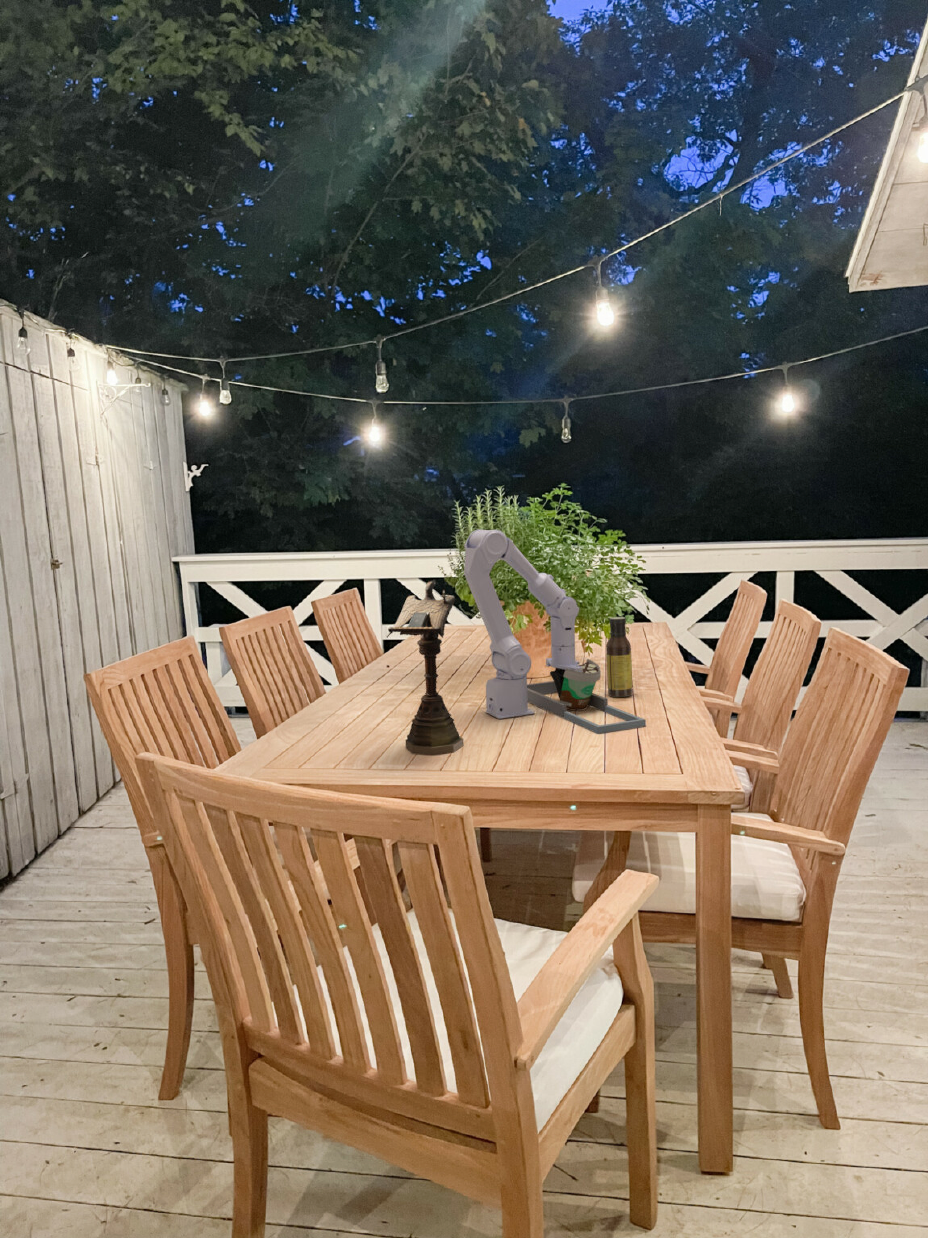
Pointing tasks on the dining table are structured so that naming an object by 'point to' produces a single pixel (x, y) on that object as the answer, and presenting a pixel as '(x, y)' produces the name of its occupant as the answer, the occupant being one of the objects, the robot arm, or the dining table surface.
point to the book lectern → (429, 674)
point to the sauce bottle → (619, 660)
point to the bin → (554, 706)
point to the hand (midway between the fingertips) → (564, 699)
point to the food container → (579, 686)
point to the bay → (630, 723)
